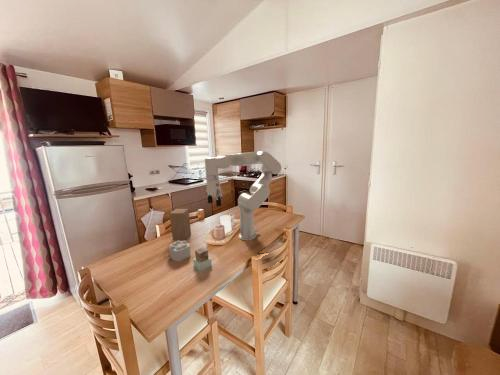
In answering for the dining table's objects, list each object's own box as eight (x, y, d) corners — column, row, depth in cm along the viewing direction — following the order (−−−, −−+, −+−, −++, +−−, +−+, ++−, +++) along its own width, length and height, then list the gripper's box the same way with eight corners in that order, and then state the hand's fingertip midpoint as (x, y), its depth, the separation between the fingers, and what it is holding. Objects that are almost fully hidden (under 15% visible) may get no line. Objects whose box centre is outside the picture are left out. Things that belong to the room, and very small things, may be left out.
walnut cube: (203, 255, 114) (203, 247, 113) (208, 258, 110) (207, 250, 109) (195, 258, 110) (194, 250, 109) (200, 262, 107) (199, 253, 106)
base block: (205, 260, 116) (204, 253, 115) (211, 265, 111) (211, 258, 110) (193, 265, 111) (193, 258, 110) (200, 270, 106) (199, 264, 105)
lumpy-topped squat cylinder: (177, 264, 114) (175, 250, 113) (166, 256, 123) (164, 242, 121) (193, 256, 122) (191, 243, 120) (182, 249, 131) (180, 236, 129)
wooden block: (191, 233, 153) (188, 208, 148) (186, 240, 143) (182, 213, 139) (178, 233, 154) (175, 208, 149) (172, 239, 144) (169, 213, 140)
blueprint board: (210, 253, 123) (210, 252, 123) (224, 263, 113) (224, 262, 113) (186, 265, 113) (185, 263, 113) (198, 276, 103) (198, 275, 103)
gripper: (225, 178, 120) (227, 205, 124) (210, 175, 133) (212, 200, 136) (215, 180, 115) (217, 208, 119) (200, 177, 128) (202, 203, 131)
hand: (214, 204), depth 128 cm, fingers open, 9 cm apart
